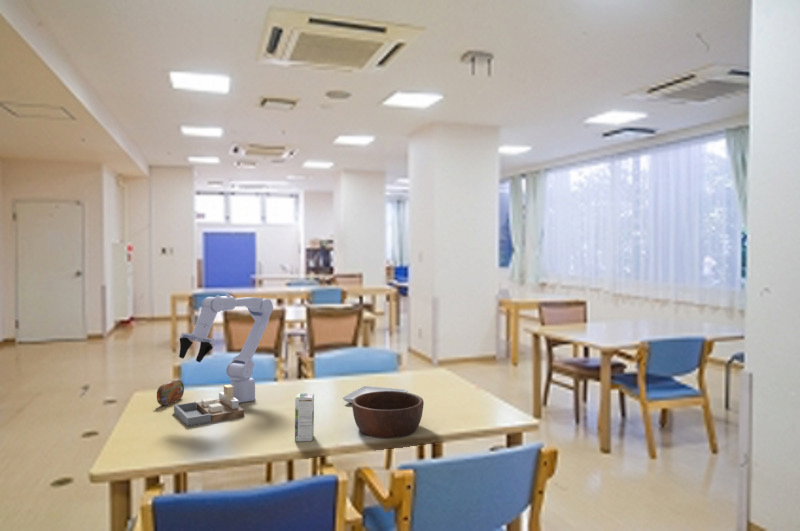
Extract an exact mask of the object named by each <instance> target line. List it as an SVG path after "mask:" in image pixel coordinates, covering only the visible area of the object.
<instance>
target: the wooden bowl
mask: <svg viewBox="0 0 800 531" xmlns="http://www.w3.org/2000/svg"><path fill="white" fill-rule="evenodd" d="M424 404H425V403H424V399H423V398H422V397H421V396H420V395H417V394H414V393H412V392H408V391H407V392H399V391H378V392H370V393H365V394H362V395H359V396H357V397H355V398H354V399H353V401H352V403H351V407H352V414H353V418H354V422H355V424H356V426H357V429H358V430H359V431H360V432H361V433H362V434H364V435H367V436H370V437H372V438H373V437H375V438H379V439H380V438H381V439H391V438H392V439H395V438H401V437H406V436H409V435H411V434H413V433H414V432H415V431H416V430H417V429H418V427H419V425H420V423H421V420H422V417H423V411H424Z"/></svg>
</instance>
